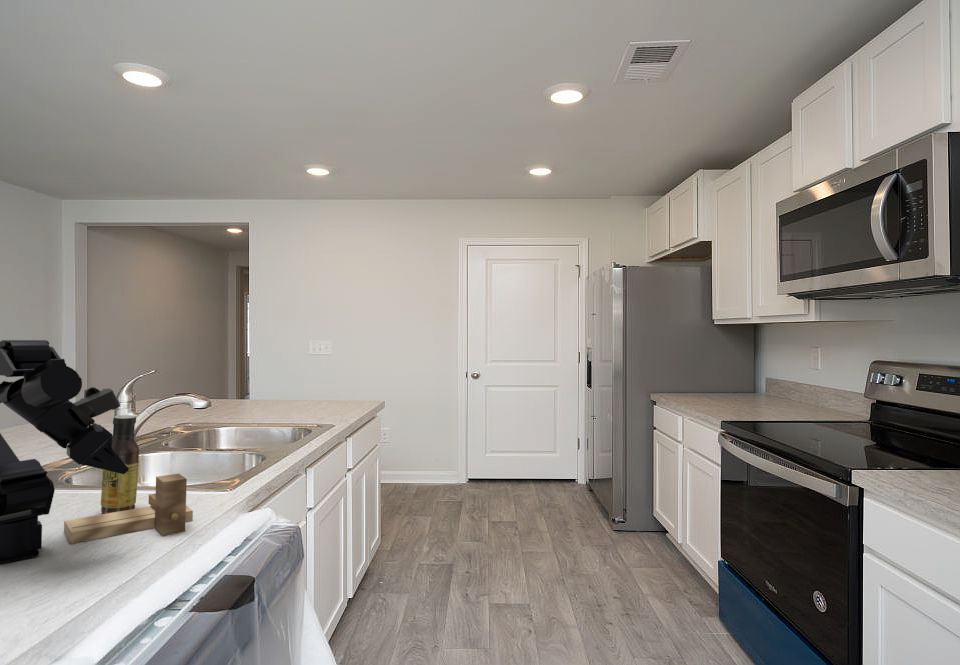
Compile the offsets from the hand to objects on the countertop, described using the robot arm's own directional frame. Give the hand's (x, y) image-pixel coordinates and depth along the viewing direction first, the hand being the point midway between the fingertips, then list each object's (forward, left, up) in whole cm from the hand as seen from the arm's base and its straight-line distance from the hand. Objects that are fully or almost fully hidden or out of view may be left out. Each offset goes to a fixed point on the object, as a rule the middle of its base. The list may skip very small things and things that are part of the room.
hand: (120, 466), depth 102 cm
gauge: (+9, +6, -14) cm, 17 cm away
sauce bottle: (+4, +19, -14) cm, 24 cm away
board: (+4, +9, -14) cm, 16 cm away
